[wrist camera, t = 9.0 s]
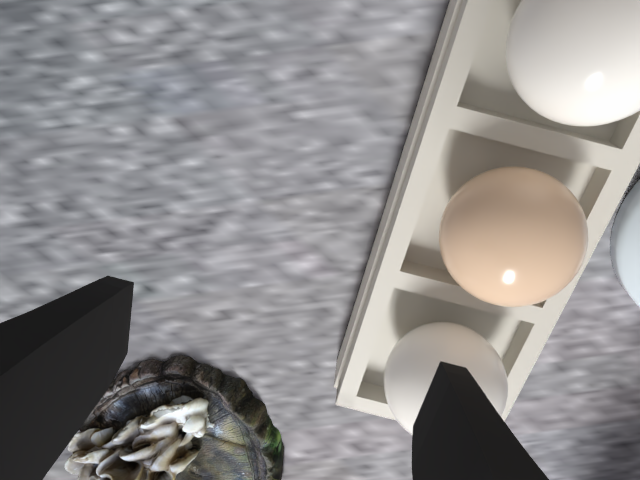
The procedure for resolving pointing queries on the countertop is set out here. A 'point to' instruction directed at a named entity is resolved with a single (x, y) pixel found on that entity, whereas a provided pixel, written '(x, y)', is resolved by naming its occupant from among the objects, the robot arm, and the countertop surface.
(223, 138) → the countertop surface
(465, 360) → the egg white far
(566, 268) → the egg brown
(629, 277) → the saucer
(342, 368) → the carton
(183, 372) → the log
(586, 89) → the egg white near
